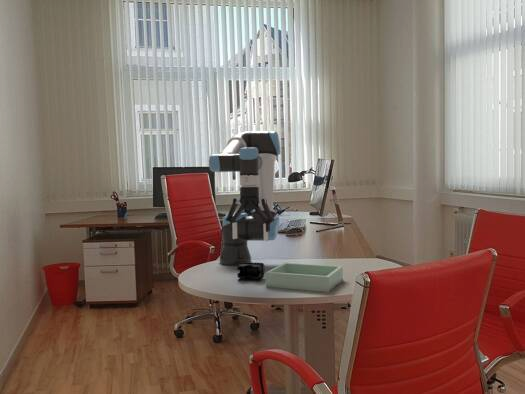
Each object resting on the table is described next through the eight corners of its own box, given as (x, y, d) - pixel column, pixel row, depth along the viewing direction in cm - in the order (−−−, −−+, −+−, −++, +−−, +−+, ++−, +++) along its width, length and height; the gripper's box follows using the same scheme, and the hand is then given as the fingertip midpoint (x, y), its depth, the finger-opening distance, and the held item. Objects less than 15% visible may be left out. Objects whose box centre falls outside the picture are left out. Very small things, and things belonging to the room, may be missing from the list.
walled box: (265, 286, 190) (265, 272, 190) (284, 275, 209) (284, 262, 209) (328, 292, 181) (328, 276, 181) (342, 280, 200) (342, 266, 199)
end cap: (265, 278, 206) (264, 261, 206) (260, 281, 199) (260, 264, 199) (241, 277, 209) (241, 260, 208) (236, 281, 202) (236, 264, 201)
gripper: (217, 186, 203) (218, 239, 204) (275, 186, 194) (275, 241, 195) (225, 186, 210) (226, 236, 211) (281, 186, 200) (282, 239, 202)
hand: (250, 239), depth 203 cm, fingers open, 13 cm apart
